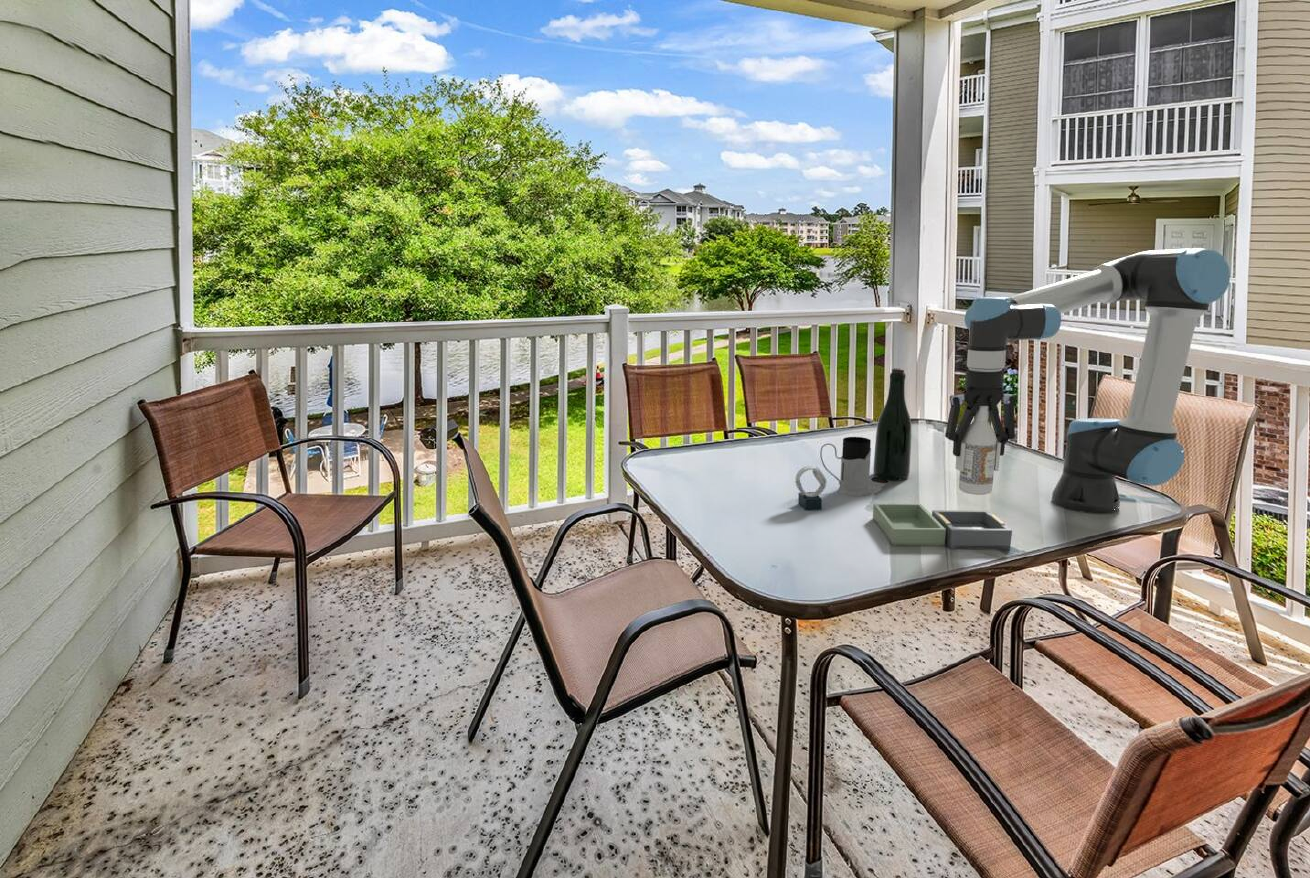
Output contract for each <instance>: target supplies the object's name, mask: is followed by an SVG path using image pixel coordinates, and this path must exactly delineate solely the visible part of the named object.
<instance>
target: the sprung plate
mask: <svg viewBox="0 0 1310 878" xmlns="http://www.w3.org/2000/svg"><path fill="white" fill-rule="evenodd" d="M951 525H952V526H953V527H954V528H955V529H988V528H987V527H986V526H985V525H984V524H983V523H951Z"/></svg>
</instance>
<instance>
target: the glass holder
mask: <svg viewBox="0 0 1310 878" xmlns="http://www.w3.org/2000/svg"><path fill="white" fill-rule="evenodd" d="M871 441H872V440H871V439H870V438H868V437H862V436H847V437H844V438H843V439H842V454H841V455H842V456H840V457H839V456H838V453H837V448H836V446H835V445H834V444H833V443H829V442H828V443H825V444H823V445H822V446H821V448H820V453H819V455H820V461H821V463H822V466H823V468H824V469H825V470H826V471H827V473H829V474H830V475H831V476H833V478H834V479H836V480H837V481H838V485H839V487H838V492H839V493H841V494H843V495H848V496H856V497H857V496H858V497H859V496H860V497H861V496H867V495H869V494H870V493H871V490H870V487H869V486H870V473H871V472H870V471H871V469H870V468H871V456H872V454H871V453H872V448H871V444H872V443H871ZM826 446H832V447H833V449H834V455H835V458H836V459H838V460H839V459H840V461H841V462H840V479H839V478H838V476H836V475H835V474H834V473H833V472H831V470H829V469H828V467H826V464H825V463H824V460H823V457H822V456H823V455H822V452H823V448H824V447H826Z"/></svg>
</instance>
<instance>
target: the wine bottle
mask: <svg viewBox="0 0 1310 878" xmlns="http://www.w3.org/2000/svg"><path fill="white" fill-rule="evenodd" d="M906 379H907V378H906V373H905V369H904V368H900V367H899V368H892V369H891V372H890V373H889V388H888V394H887V399H886V402H885V404H884V407H883V409H882V411H881V414H880V415H879V417H878V421H877V424H876V430H875V431H876V433H875V442H874V455H873V456H874V457H873V465H872V466H873V468H872V469H873V471H872V474H873V475H874V476H875V477H876V478H878V479H881V480H885V481H886V480H887V481H903V480H907V479H908V478H909V477H910V472H911V457H912V456H911V454H912V440H913V439H912V438H913V435H912V434H913V433H912V431H913V429H912V421H911V420H912V419H911V416H910V413H909V410H908V406H907V404H906V403H907V402H906V399H905V398H906V396H905V394H906V393H905V391H906V390H905V389H906V388H905V384H906Z"/></svg>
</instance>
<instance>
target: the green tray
mask: <svg viewBox="0 0 1310 878" xmlns="http://www.w3.org/2000/svg"><path fill="white" fill-rule="evenodd" d="M872 508H873V511H872V519H873V522H874V523H875V524H876V525H877V527H878V528H879V529H880V531H881V532H882V534H883V535H884V537H886V539H887V541H888V542H889V543H890V544H891V546H892V547H893V546H894V547H899V546H900V547H945V545H946V544H945V535H946V529H945V528H944V527H943V526H942V525H941V524H940V523H939V522H938V521H937V520H936V519H935V518H934V517H933V516H932V513H931V512H929V510H928V509H926V508H925V506H923V505H922V503H873V507H872Z"/></svg>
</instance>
